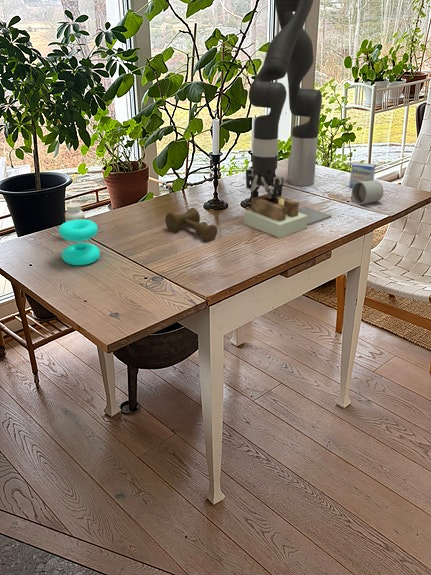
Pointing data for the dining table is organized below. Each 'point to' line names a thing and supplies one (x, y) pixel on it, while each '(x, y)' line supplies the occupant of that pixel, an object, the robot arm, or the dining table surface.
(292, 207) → the c link
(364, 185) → the ceramic mug
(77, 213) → the supplement bottle
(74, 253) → the donuts
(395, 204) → the dining table surface
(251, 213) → the stand
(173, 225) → the brown dog bone
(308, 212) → the coaster
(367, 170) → the medicine box
